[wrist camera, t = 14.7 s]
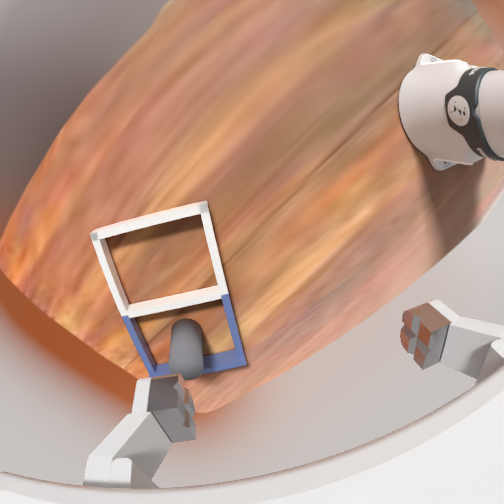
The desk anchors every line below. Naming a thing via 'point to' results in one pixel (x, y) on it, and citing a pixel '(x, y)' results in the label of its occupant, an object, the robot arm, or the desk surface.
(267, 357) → the desk surface
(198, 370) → the smooth grey pebble
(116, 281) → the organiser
